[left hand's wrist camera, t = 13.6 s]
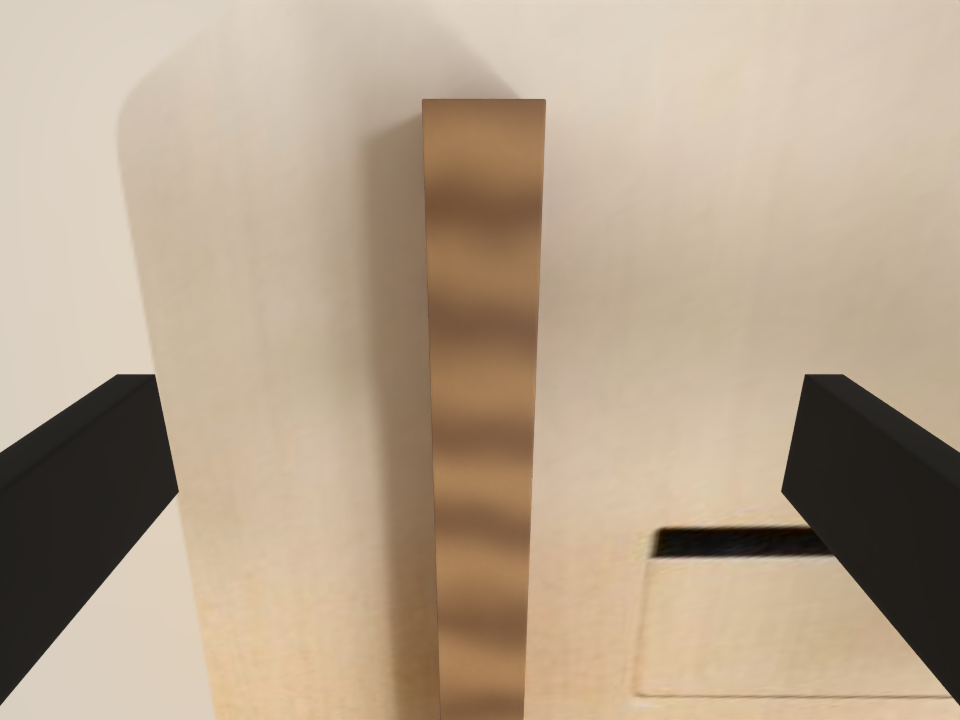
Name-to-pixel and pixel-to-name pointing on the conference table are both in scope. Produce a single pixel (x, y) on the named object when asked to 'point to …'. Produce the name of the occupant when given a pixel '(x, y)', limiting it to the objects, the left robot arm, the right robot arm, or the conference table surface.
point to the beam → (483, 388)
